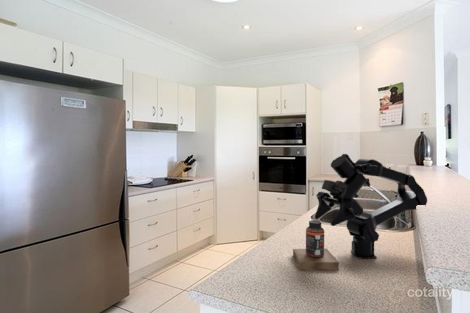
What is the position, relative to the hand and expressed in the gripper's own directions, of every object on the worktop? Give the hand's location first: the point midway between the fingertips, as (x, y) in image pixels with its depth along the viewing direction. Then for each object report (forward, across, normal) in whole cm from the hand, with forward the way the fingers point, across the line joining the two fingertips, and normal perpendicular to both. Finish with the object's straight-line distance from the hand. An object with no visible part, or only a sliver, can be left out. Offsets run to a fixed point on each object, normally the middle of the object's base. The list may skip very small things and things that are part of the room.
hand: (323, 221), depth 95 cm
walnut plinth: (+12, 0, +7) cm, 14 cm away
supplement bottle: (+10, 0, +6) cm, 12 cm away
